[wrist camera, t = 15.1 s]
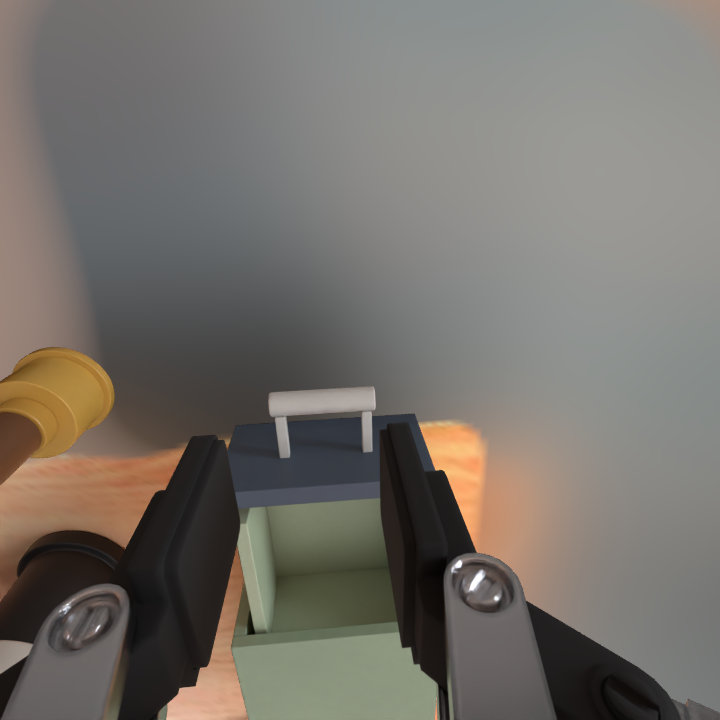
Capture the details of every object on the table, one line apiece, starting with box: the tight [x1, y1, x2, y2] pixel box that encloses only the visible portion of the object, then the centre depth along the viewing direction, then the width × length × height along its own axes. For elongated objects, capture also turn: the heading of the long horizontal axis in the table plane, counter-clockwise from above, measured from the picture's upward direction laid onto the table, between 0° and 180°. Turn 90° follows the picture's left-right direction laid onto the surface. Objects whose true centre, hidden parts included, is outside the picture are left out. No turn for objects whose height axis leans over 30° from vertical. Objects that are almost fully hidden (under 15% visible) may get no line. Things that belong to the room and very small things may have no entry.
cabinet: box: [231, 581, 437, 720], centre depth 34 cm, size 16×14×9 cm
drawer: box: [227, 386, 435, 634], centre depth 28 cm, size 19×12×7 cm, turn 2°
